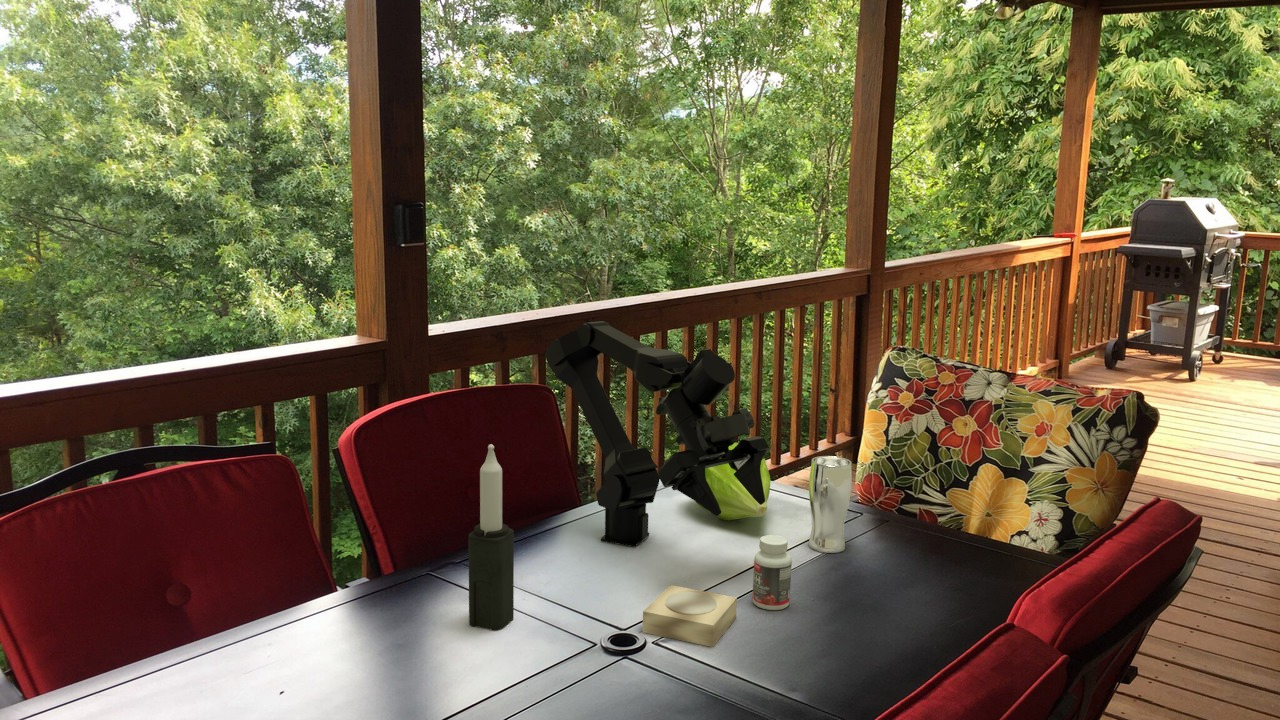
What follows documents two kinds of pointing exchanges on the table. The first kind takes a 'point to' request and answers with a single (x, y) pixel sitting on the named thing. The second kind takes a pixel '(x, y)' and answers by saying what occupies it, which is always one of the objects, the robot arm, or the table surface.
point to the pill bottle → (772, 573)
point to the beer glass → (829, 502)
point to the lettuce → (736, 492)
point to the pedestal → (690, 615)
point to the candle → (491, 555)
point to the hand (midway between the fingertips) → (741, 508)
